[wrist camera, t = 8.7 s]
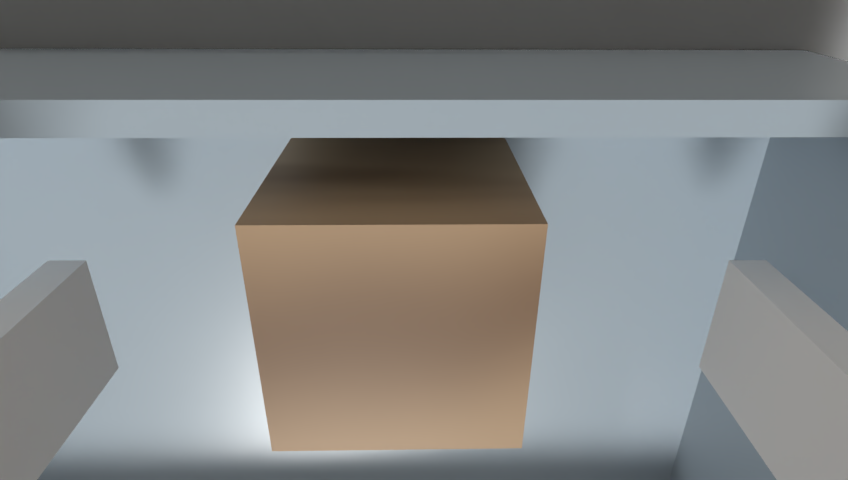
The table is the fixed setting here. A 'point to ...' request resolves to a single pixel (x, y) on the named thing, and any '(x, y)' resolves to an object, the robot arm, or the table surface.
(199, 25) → the table surface
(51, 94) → the tray
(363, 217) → the walnut cube
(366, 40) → the table surface
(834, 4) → the table surface
